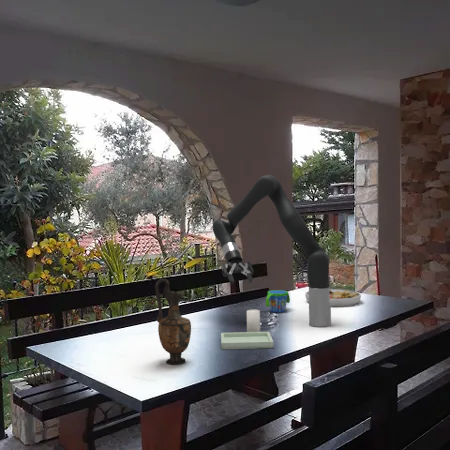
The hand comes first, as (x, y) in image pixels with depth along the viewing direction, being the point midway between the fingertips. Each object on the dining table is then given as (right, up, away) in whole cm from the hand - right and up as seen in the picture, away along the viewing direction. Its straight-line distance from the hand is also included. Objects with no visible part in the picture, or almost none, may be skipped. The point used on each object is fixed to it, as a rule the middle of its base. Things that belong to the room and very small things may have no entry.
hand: (242, 282), depth 224 cm
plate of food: (+52, -18, +54) cm, 77 cm away
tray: (+1, -22, -24) cm, 32 cm away
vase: (-26, -23, -45) cm, 57 cm away
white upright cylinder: (+5, -21, -10) cm, 24 cm away
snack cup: (+20, -19, +33) cm, 43 cm away
